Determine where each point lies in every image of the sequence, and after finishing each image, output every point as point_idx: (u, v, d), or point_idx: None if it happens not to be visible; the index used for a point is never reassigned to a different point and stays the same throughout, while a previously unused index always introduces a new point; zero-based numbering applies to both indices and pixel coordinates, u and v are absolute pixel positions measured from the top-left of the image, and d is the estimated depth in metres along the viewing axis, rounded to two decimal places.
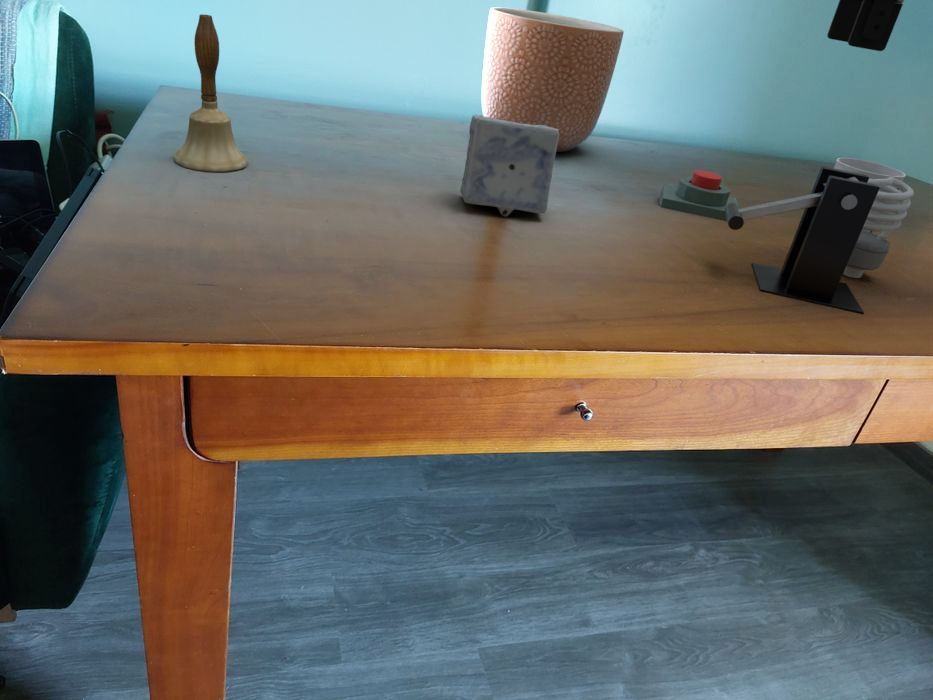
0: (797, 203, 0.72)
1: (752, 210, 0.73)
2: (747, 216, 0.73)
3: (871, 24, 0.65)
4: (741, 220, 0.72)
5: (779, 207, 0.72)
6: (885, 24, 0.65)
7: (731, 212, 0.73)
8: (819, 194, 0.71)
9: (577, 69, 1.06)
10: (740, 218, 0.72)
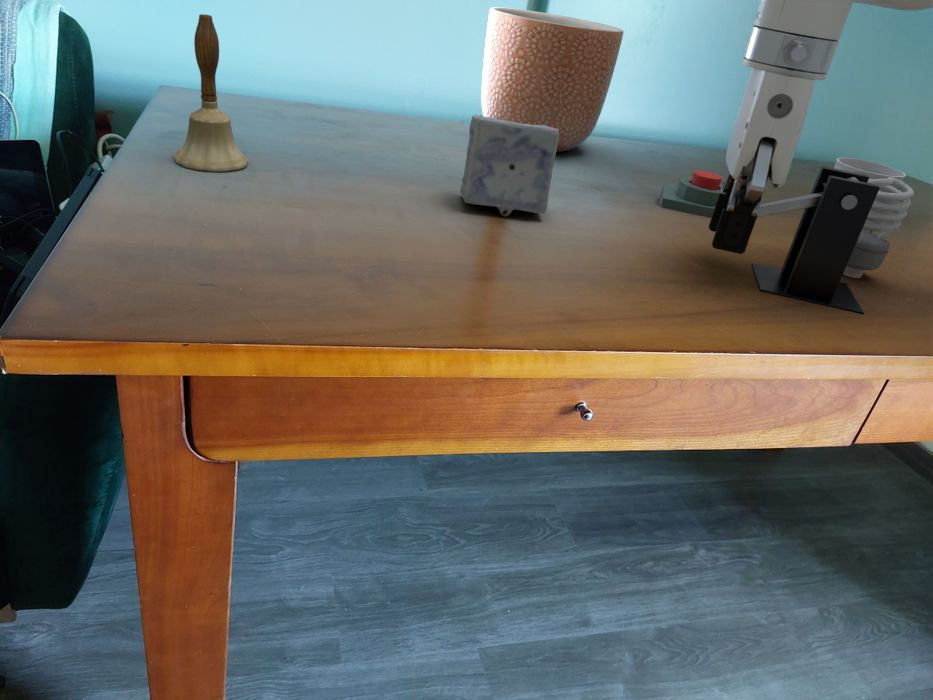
0: (797, 203, 0.72)
1: None
2: None
3: (729, 233, 0.71)
4: None
5: (779, 207, 0.72)
6: (742, 234, 0.71)
7: None
8: (819, 194, 0.71)
9: (576, 69, 1.06)
10: None
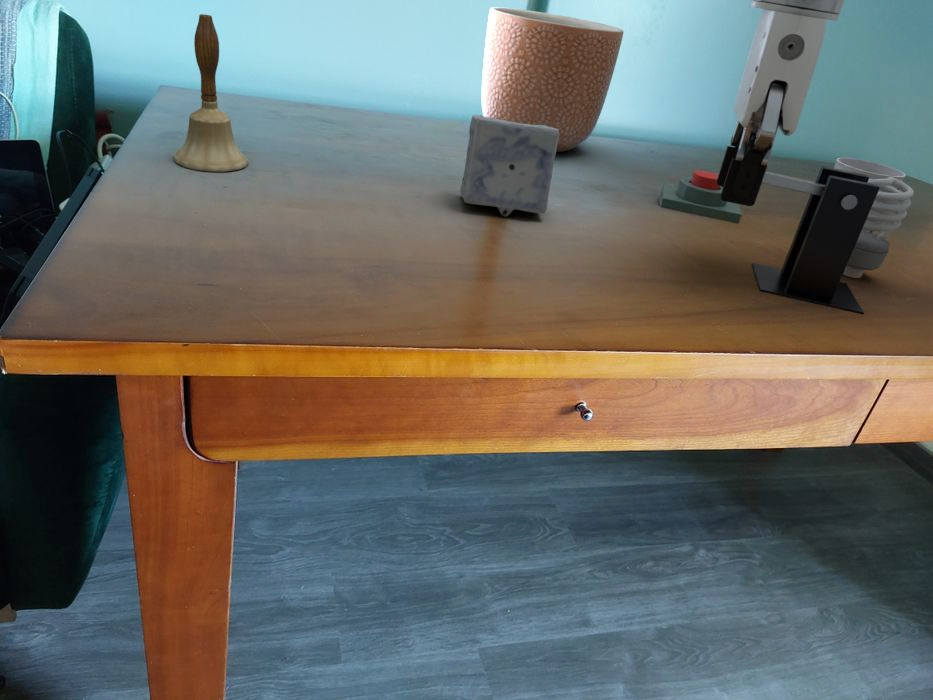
0: (800, 184, 0.71)
1: None
2: None
3: (738, 184, 0.69)
4: None
5: (783, 182, 0.71)
6: (751, 184, 0.69)
7: None
8: (823, 185, 0.71)
9: (576, 69, 1.06)
10: None
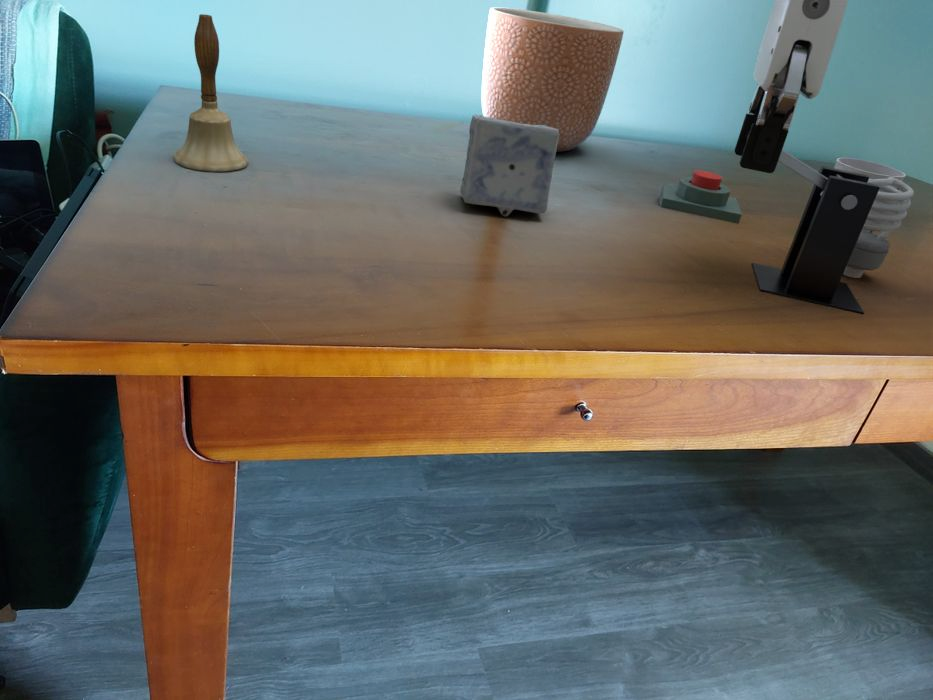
0: (809, 172, 0.70)
1: None
2: None
3: (759, 149, 0.67)
4: None
5: (794, 163, 0.70)
6: (772, 150, 0.67)
7: None
8: None
9: (576, 69, 1.06)
10: None
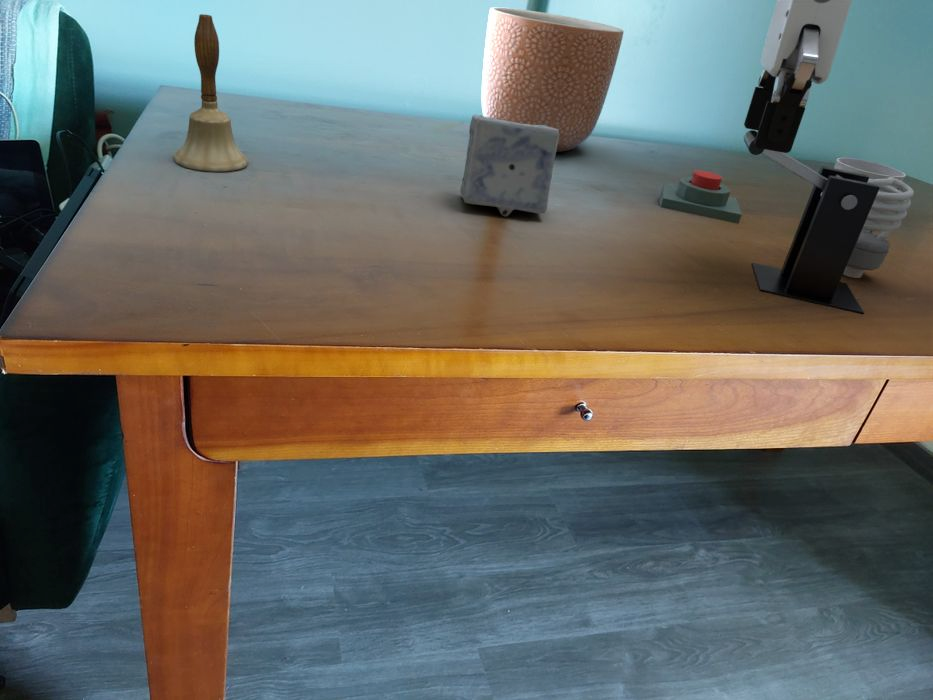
0: (808, 173, 0.70)
1: None
2: (764, 151, 0.70)
3: (774, 128, 0.64)
4: None
5: (793, 165, 0.70)
6: (788, 128, 0.64)
7: None
8: None
9: (576, 69, 1.06)
10: None
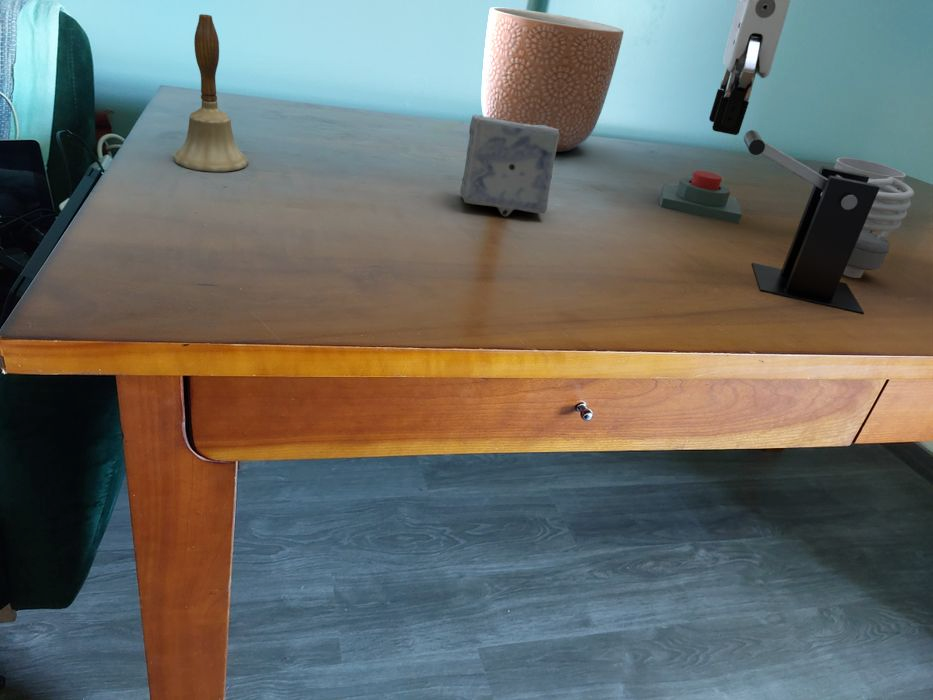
0: (808, 173, 0.70)
1: (772, 149, 0.70)
2: (764, 151, 0.70)
3: (726, 116, 0.88)
4: (762, 148, 0.68)
5: (793, 165, 0.70)
6: (736, 116, 0.87)
7: (757, 136, 0.69)
8: None
9: (576, 69, 1.06)
10: (763, 146, 0.68)
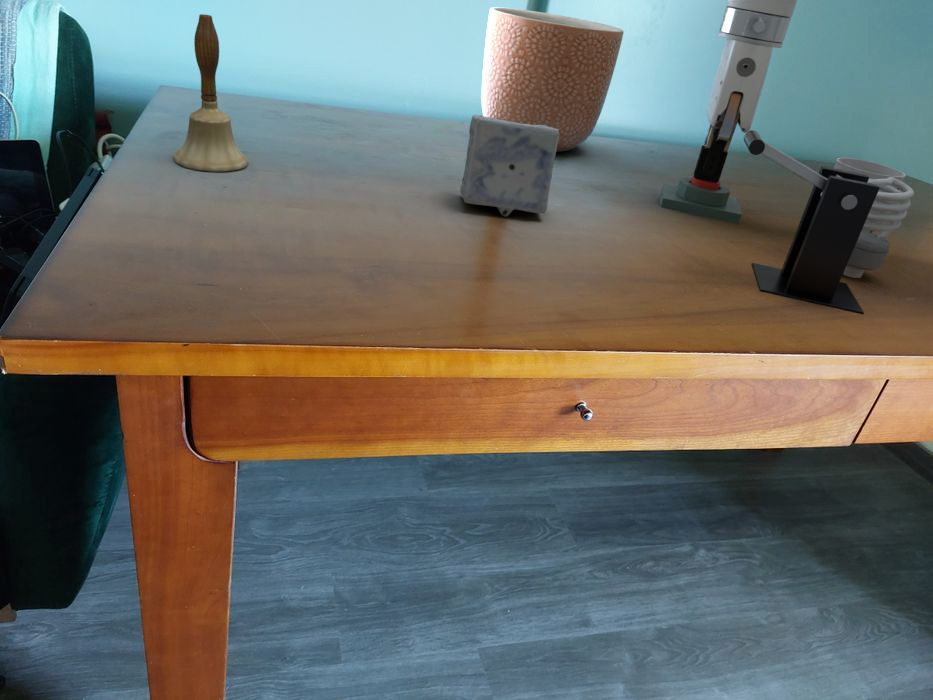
0: (808, 173, 0.70)
1: (772, 149, 0.70)
2: (764, 151, 0.70)
3: (707, 166, 0.93)
4: (762, 148, 0.68)
5: (793, 165, 0.70)
6: (716, 166, 0.93)
7: (757, 136, 0.69)
8: None
9: (576, 69, 1.06)
10: (763, 146, 0.68)
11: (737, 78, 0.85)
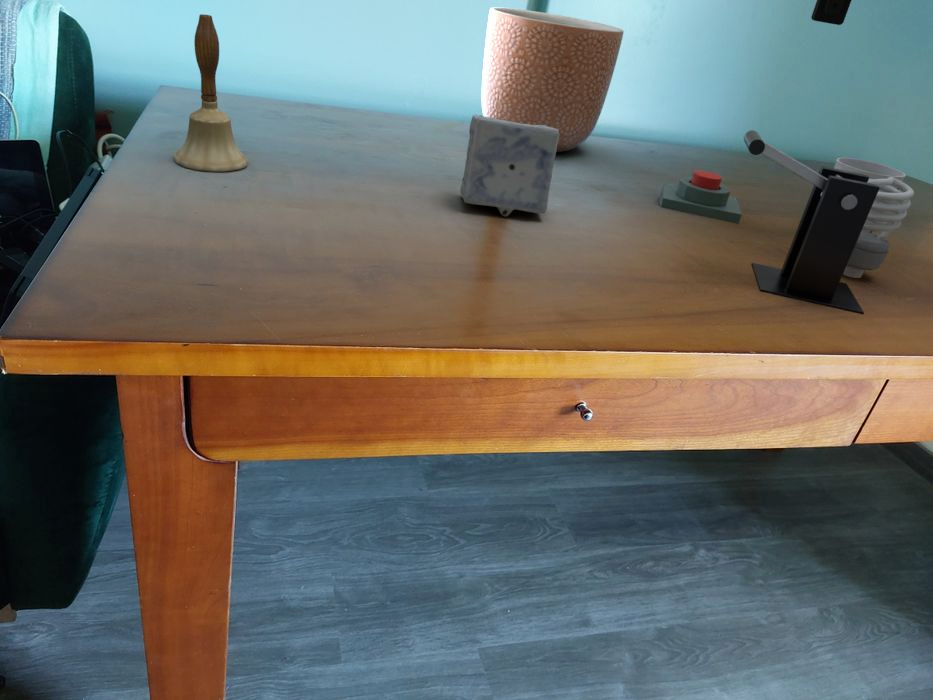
0: (808, 173, 0.70)
1: (772, 149, 0.70)
2: (764, 151, 0.70)
3: (831, 2, 0.80)
4: (762, 148, 0.68)
5: (793, 165, 0.70)
6: (842, 2, 0.79)
7: (757, 136, 0.69)
8: None
9: (576, 69, 1.06)
10: (763, 146, 0.68)
11: None
